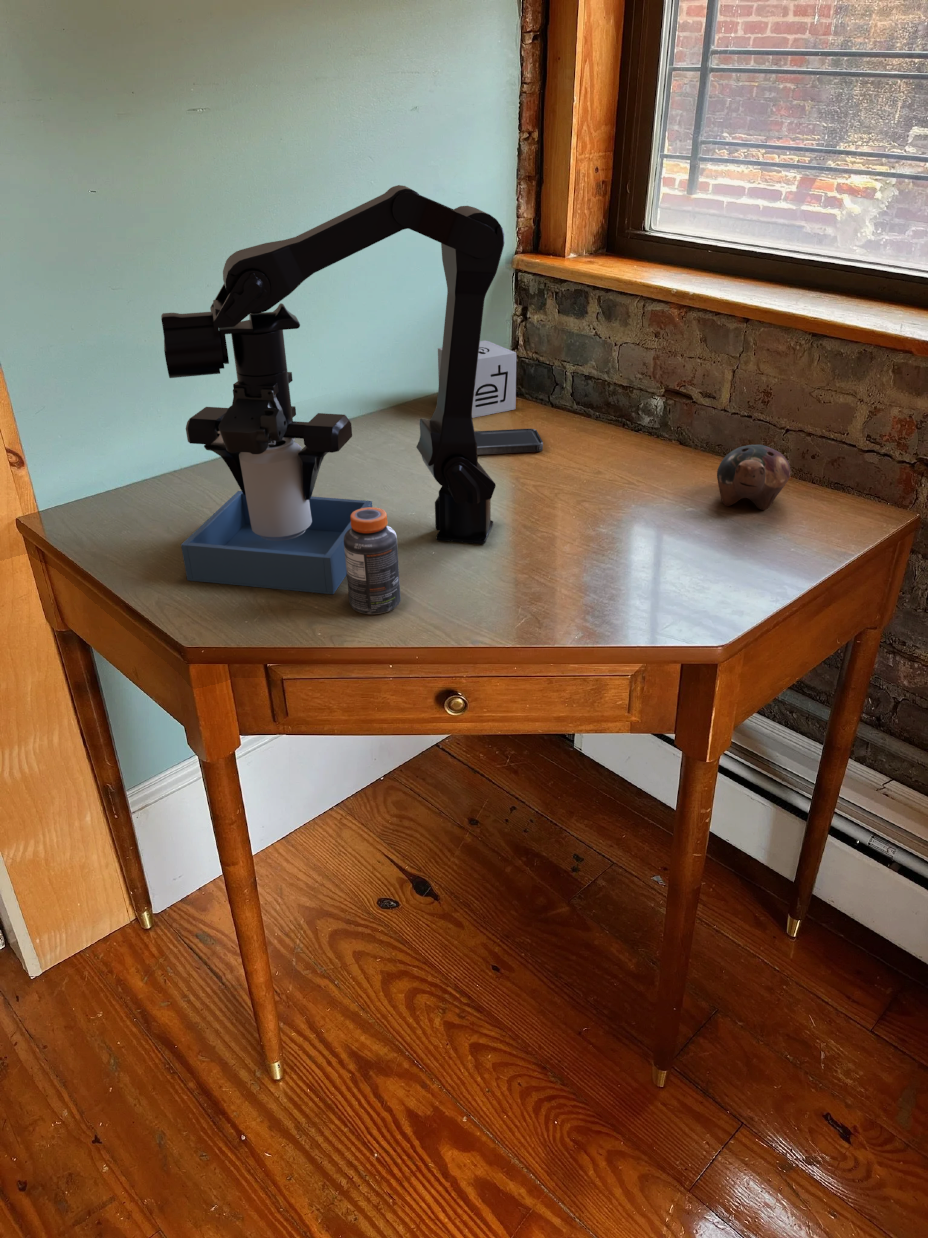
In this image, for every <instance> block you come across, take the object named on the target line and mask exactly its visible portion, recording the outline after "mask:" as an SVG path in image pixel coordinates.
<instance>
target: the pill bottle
mask: <svg viewBox="0 0 928 1238" xmlns="http://www.w3.org/2000/svg"><path fill="white" fill-rule="evenodd" d="M350 517H351V527H352V528H350V529H349V530H348V531H347V532H346V534H345V536H344V550H345V561H346V572H347V575H346V580H347V591H348V602H349V605H350V607H351V608H352V610H354V611H355V612H358V613H361V614H363V615H364V614H365V615H381V614H385V613H388V612H391V611H392V610H394V609H395V608H397V607H398V606H399V605H400V603H401V601H402V600H401V599H402V597H401V584H400V567H399V566H400V564H399V550H398V549H399V548H398V537H397V536H398V535H397V533H396V531H395V530H394V528H392V527H391V526H389V525H388V523H389V522H388V521H389V520H388V514H387V512H386V510H384V509H383V508H379V507H374V506H372V507H367V508H361V509H358V510H355V511H354V512H352V514H351V516H350Z"/></svg>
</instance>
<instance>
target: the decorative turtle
mask: <svg viewBox="0 0 928 1238" xmlns="http://www.w3.org/2000/svg"><path fill="white" fill-rule="evenodd" d="M790 477H791V466H790V463H789V461H788V459H787V458H786V456H784V454H782V453H781V452H780V451H778V450H777V449H774V448H772V447H770V446H767V445H763V444H747V445H743V446H739V447H737V448H735V449H733V450H732V451H730V452H729V453H727V454H726V455H725V456H724V457H723V458H722V460H721V462H720V463H719V465H718V468H717V470H716V479H717V485H718V490H719V493H720V498H721V502H722V504H724V506H726V507H730V506H733V505H734V504H736V503H738V501H740V500H741V499H748V500H749V501H751V502H752V503H753V504H754V505H755V506H756V508H757V509H759V510H760V511H766V510H768V509H769V508H770V507H771V506H772V504H773V503H774V501H775V500H776V498H777V496H778V495H779V494H780V493H781V491H782V490H783V489H784V487H785V486H786V485H787V484H788V482H789V479H790Z"/></svg>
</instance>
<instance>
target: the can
mask: <svg viewBox="0 0 928 1238" xmlns="http://www.w3.org/2000/svg"><path fill="white" fill-rule="evenodd" d="M302 449H303V448H302V446H301V445H300V444H299V443H297V442H296V438H284V437H283V439H282V440H281V441H271V442H270V443H268V447H267V449H266V451H265V452H263V453H261V454H251V453H248V452H240V454H239V459H240V465H241V470H242V476H243V482H244V488H245V493H246V499H247V505H248V511H249V516H250V522H251V528H252V531H253V532H254V533H255V534H257V535H259V536H260V537H262V538H263V539H266V540H272V541H282V540H289V539H292V538H296V537H298V536H300V535H302V534H303V533H304V532H305V531H306V529H307V528H308V527H309V526H310V525H311V523H312V517H311V510H310V503H309V500H306V499H305V495H304V490H303V468H302V460H301V459H300V457H299V455H298V453H299V452H300V451H301V450H302Z"/></svg>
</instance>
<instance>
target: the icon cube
mask: <svg viewBox="0 0 928 1238" xmlns="http://www.w3.org/2000/svg"><path fill="white" fill-rule="evenodd" d="M441 356H442V347H438V348H437V367H438V369H437V370H438V371H437V372H438V379H439V378H440V367H441ZM516 404H517V352H516V351H514V350H511V349H508V348H506V347H504V346H501V345H500V344H497V343H494V342H492V341H489V340H487V339H486V340H480V344H479V353H478V362H477V370H476V379H475V388H474V397H473V406H472V419H473V418H479V417H484V416H489V415H495V414H498V413H504V412H508V411H512V410H516V407H517V406H516Z"/></svg>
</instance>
